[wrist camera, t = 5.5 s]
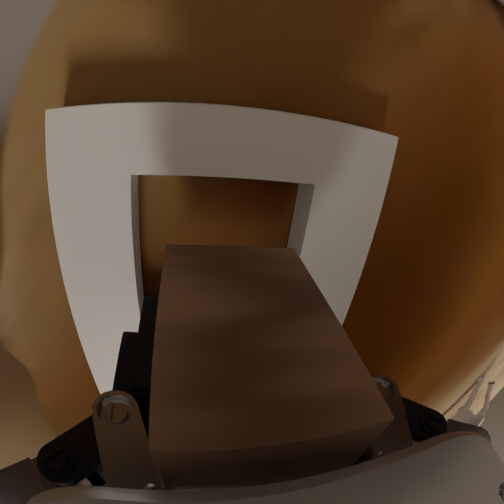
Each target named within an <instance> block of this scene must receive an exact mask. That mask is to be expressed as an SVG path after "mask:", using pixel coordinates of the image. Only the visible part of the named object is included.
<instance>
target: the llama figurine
mask: <svg viewBox="0 0 504 504" xmlns="http://www.w3.org/2000/svg"><path fill="white" fill-rule="evenodd" d="M483 380H484V377H480V378H478V382H477V384H476V386H475V388H474V390H473V392H472V393H471V395H470V397H469V399H468V400H467V402H466V403H465V405H464V406H462V407H460V408H459V410H458V412H457V414H455V415H454V416H453V417H452V418H450V419H452V420H455V421H459V422H463V423H467V424H471V425H475V426H480V424H481V423H482V422H483V421H484V419H485V416H484V414H485V412H486V411H487V409H488V408H489V399H490V394H491V391H492V387H493V384H494V383H495V382H492V381H490V382H489V383H488V384H489V385H488V389H487V392H486V396H485V402H484V406H483V408H482V409H481V410H480V412H479V413H478V414H477V415H474V414H473V412H472V411H470V410H468V409H469V407H470V406H471V404H472V402H473V400H474V398H475V396H476V394H477V392H478V390H479V388H480V386H481V384H482V382H483Z"/></svg>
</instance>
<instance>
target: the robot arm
mask: <svg viewBox="0 0 504 504" xmlns="http://www.w3.org/2000/svg"><path fill="white" fill-rule="evenodd" d="M158 299H159V297H147V296H145V297H144V300H143V305H142V311H141V317H140V323H139V329H138V332H125V331H124V332H123V335H122V339H121V344H120V349H119V354H118V360H117V365H116V371H115V377H114V383H113V389H112V391H107V392H104V393H102V394H101V395H99V396H98V397H97V398H96V399H95V400H94V402H93V405H92V415H91V416H90V417H88V418H87V419H85V420H84V421H82V422H81V423H79V424H77V425H76V426H74V427H73V428H71V429H70V430H68V431H66V432H65V433H63V434H62V435H60V436H59V437H57V438H55V439H54V440H52V441H51V442H49V443H47V444H46V445H44V446H43V447H42V448H41V449H40V451H39V453H38V456H37V457H36V458H33V459H30V458H26V459H24V460H22V461H19V462H17V463H15V464H12V465H10V466H8V467H5V468H3V469H0V504H504V462H503V460H502V458H501V457H500V455H499V454H498V452H497V451H496V449H495V448H494V447H493V445H492V444H491V438H490V435H489V433H488V431H487V430H485V429H484V428H482V427H479V426H475V425H471V424H467V423H463V422H459V421H455V420H452V419H448V420H447V421H446V420H445V418H444V416H443V415H442V414H440V413H439V412H437V411H436V410H433V409H431V408H428V407H426V406H423V405H421V404H418V403H416V402H413V401H411V400H409V399H406V398H404V397H402V396H401V393H400V390H399V387H398V385H397V384H396V382H395V381H394V380H393V379H391V378H390V377H388V376H386V375H383V374H372V375H371V377H372V378H373V380H374V382H375V384H376V386H377V387H378V389H379V391H380V393H381V394H382V396H383V398H384V400H385V402H386V403H387V405H388V407H389V409H390V411H391V412H392V414H393V416H394V419H393V421H392V422H391V423H390V424H389V425H388V427H387V428H386V429H385V430H384V431H383V433H382V434H381V435H380V436H379V437H378V438H377V440H376V441H375V442H374V443H372V444H371V445H370V446H369V447H368V448H367V449H366V450H365V451H364V454H363V455H362V456H361V457H360V458H359V459H358V460H357V461H356V462H355V463H354V464H353V465H352V466H350V467H347V468H343V469H339V470H336V471H332V472H328V473H324V474H319V475H315V476H310V477H306V478H301V479H296V480H290V481H285V482H279V483H273V484H266V485H258V486H250V487H241V488H230V489H215V490H167V489H166V486H165V484H164V481H163V479H162V476H161V474H160V471H157V470H156V467H155V465H154V463H153V460H152V457H151V455H150V452H149V412H150V390H151V373H152V359H153V347H154V336H155V326H156V316H157V307H158Z"/></svg>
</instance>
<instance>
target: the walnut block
mask: <svg viewBox="0 0 504 504" xmlns="http://www.w3.org/2000/svg"><path fill="white" fill-rule="evenodd" d="M393 419H394V416H393V414H392V412H391V411H390V409H389V407H388V405H387V403H386V402H385V400H384V398H383V396H382V394H381V393H380V391H379V389H378V387H377V386H376V384H375V382H374V380H373V378H372V377H371V375H370V373H369V371H368V370H367V368H366V366H365V365H364V363H363V361H362V359H361V358H360V356H359V354H358V353H357V351H356V349H355V347H354V346H353V344H352V342H351V341H350V339H349V337H348V336H347V334H346V332H345V330H344V329H343V327H342V325H341V324H340V322H339V320H338V319H337V317H336V315H335V314H334V312H333V311H332V309H331V307H330V306H329V304H328V302H327V301H326V299H325V297H324V296H323V294H322V292H321V291H320V289H319V288H318V286H317V284H316V283H315V281H314V280H313V278H312V276H311V275H310V273H309V272H308V270H307V268H306V267H305V265H304V264H303V262H302V260H301V259H300V257H299V256H298V254H297V252H296V251H295V249H294V248H276V247H240V246H202V245H166V248H165V255H164V262H163V269H162V276H161V283H160V291H159V299H158V307H157V316H156V326H155V336H154V347H153V359H152V373H151V390H150V412H149V452H150V455H151V457H152V460H153V463H154V465H155V467H156V470H157V471H160V474H161V476H162V479H163V481H164V484H165V486H166V489H167V490H215V489H230V488H241V487H250V486H258V485H266V484H273V483H279V482H285V481H290V480H296V479H301V478H306V477H310V476H315V475H319V474H324V473H328V472H332V471H336V470H339V469H343V468H347V467H350V466H352V465H353V464H354V463H355V462H356V461H357V460H358V459H359V458H360V457H361V456H362V455H363V454H364V451H365V450H366V449H367V448H368V447H369V446H370V445H371V444H372V443H374V442H375V441H376V440H377V438H378V437H379V436H380V435H381V434H382V433H383V431H384V430H385V429H386V428H387V427H388V425H389V424H390V423H391V422H392V421H393Z"/></svg>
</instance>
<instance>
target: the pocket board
mask: <svg viewBox="0 0 504 504" xmlns="http://www.w3.org/2000/svg"><path fill="white" fill-rule="evenodd" d="M398 138H399V137H396V136H393V135H390V134H387V133H384V132H381V131H377V130H373V129H369V128H365V127H361V126H357V125H353V124H348V123H344V122H339V121H334V120H329V119H324V118H319V117H314V116H308V115H302V114H296V113H290V112H284V111H277V110H269V109H262V108H253V107H244V106H234V105H222V104H208V103H189V102H116V103H98V104H85V105H74V106H64V107H58V108H53V109H47V110H46V112H45V141H46V165H47V179H48V190H49V200H50V208H51V216H52V223H53V229H54V235H55V241H56V247H57V252H58V257H59V262H60V267H61V272H62V276H63V280H64V285H65V289H66V293H67V297H68V301H69V304H70V308H71V312H72V315H73V318H74V322H75V325H76V328H77V332H78V335H79V338H80V341H81V344H82V347H83V350H84V353H85V356H86V358H87V361H88V364H89V367H90V369H91V372H92V374H93V377H94V380H95V382H96V385H97V387H98V389H99V392H100V394H102V393H104V392H107V391H112V389H113V383H114V377H115V371H116V365H117V360H118V354H119V349H120V344H121V339H122V335H123V332H124V331H125V332H138V329H139V323H140V317H141V311H142V305H143V300H144V292H143V281H142V268H141V253H140V234H139V200H138V175H180V176H207V177H227V178H243V179H257V180H270V181H282V182H293V183H299V186H298V191H297V197H296V202H295V208H294V213H293V218H292V223H291V229H290V234H289V239H288V244H287V248H294V249H295V251H296V252H297V254H298V256H299V257H300V259H301V260H302V262H303V264H304V265H305V267H306V268H307V270H308V272H309V273H310V275H311V276H312V278H313V280H314V281H315V283H316V284H317V286H318V288H319V289H320V291H321V292H322V294H323V296H324V297H325V299H326V301H327V302H328V304H329V306H330V307H331V309H332V311H333V312H334V314H335V315H336V317H337V319H338V320H339V322H340V324H341V325H343V322H344V320H345V317H346V315H347V312H348V309H349V307H350V304H351V301H352V299H353V296H354V293H355V290H356V288H357V285H358V282H359V279H360V276H361V273H362V270H363V267H364V264H365V261H366V258H367V255H368V252H369V249H370V246H371V243H372V239H373V236H374V233H375V229H376V226H377V223H378V219H379V216H380V212H381V208H382V205H383V201H384V197H385V193H386V190H387V186H388V182H389V178H390V174H391V169H392V165H393V161H394V156H395V152H396V147H397V143H398Z"/></svg>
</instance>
